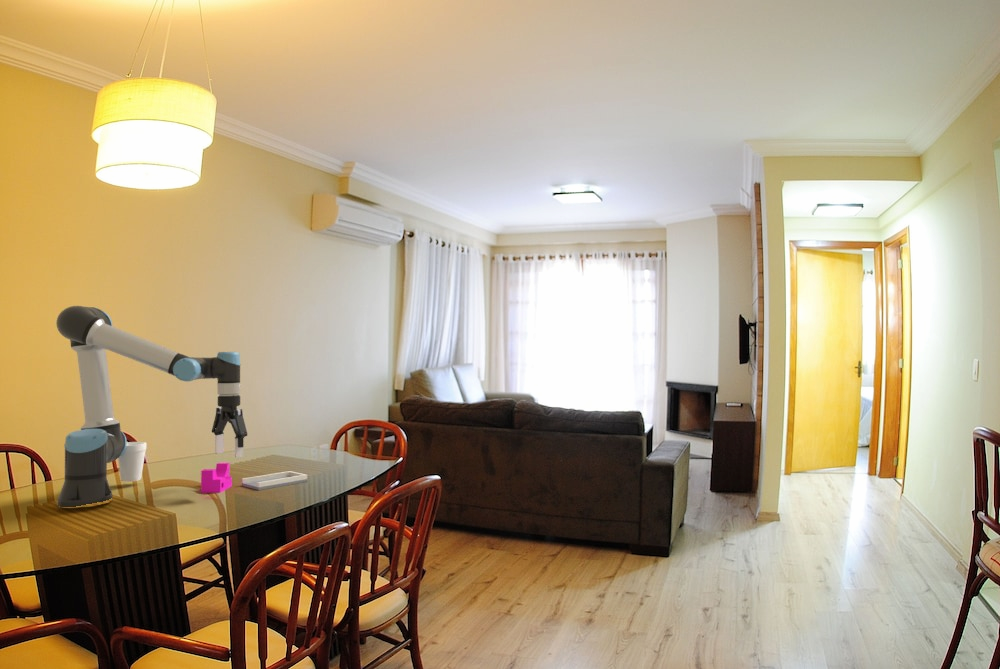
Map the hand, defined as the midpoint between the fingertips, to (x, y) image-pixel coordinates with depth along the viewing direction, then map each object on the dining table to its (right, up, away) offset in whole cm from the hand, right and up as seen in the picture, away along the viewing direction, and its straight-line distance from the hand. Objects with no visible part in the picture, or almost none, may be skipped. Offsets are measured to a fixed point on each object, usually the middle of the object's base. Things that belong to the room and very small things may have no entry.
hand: (229, 454), depth 239 cm
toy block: (0, -10, -9) cm, 13 cm away
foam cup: (-37, -10, +4) cm, 39 cm away
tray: (+17, -10, -1) cm, 20 cm away
